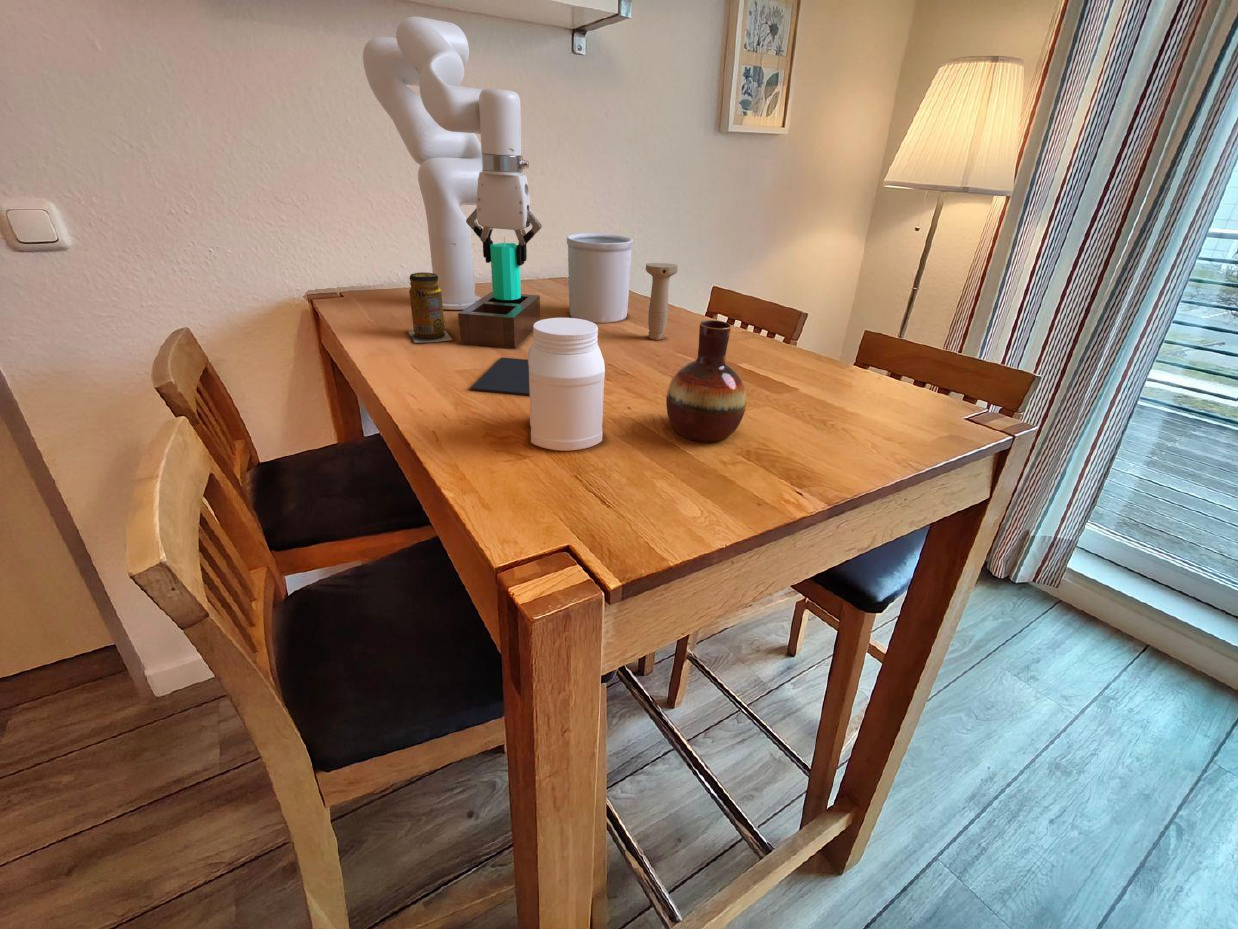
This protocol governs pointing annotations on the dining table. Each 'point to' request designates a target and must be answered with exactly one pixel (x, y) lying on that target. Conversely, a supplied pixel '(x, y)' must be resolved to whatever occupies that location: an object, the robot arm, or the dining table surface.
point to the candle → (505, 271)
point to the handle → (659, 297)
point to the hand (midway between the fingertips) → (505, 262)
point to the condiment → (427, 309)
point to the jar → (566, 384)
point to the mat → (505, 377)
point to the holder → (499, 321)
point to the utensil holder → (599, 276)
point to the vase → (707, 390)
